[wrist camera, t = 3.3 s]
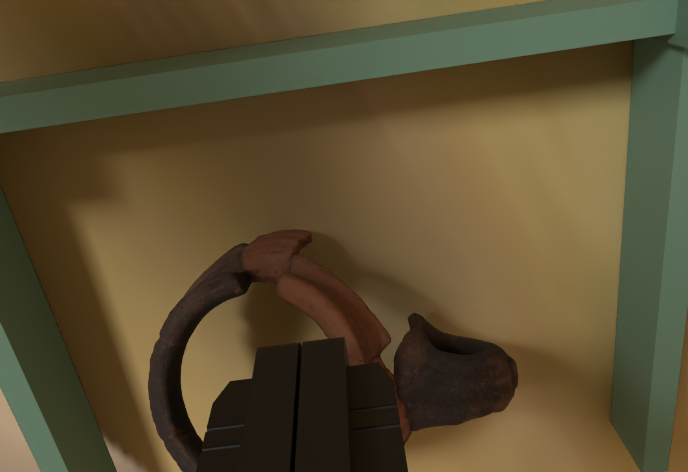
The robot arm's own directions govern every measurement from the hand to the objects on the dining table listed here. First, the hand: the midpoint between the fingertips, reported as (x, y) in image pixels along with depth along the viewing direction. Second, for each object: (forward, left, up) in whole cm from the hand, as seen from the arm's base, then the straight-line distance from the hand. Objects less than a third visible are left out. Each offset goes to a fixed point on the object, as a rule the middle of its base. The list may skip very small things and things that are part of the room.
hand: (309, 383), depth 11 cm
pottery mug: (+8, +1, -13) cm, 15 cm away
